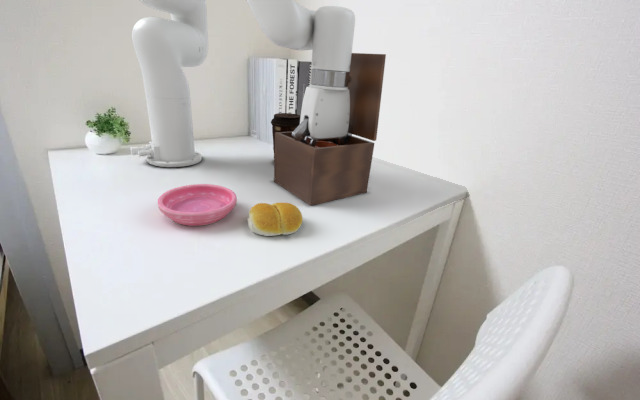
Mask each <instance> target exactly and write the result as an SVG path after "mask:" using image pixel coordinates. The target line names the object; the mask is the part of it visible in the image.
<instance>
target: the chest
mask: <svg viewBox="0 0 640 400" xmlns="http://www.w3.org/2000/svg"><path fill="white" fill-rule="evenodd" d="M292 132H293V131H291V132H275V158H274V157H273V182H274V183H275V184H277V185H278V186H280V187H281V188H282V189H284V190H286V191H288V192H289V193H291V194H292V195H294V196H295V197H296V198H298V199H300V200H301V201H303V202H304V203H306V204H307V205H309V206H315V205H320V204H324V203H328V202H332V201H337V200H340V199H345V198H349V197H353V196H358V195H362V194H365V193H368V188H369V182H370V181H369V180H370V174H371V168H372V162H373V155H374V149H375V142H374V141H371V140H368V139H365V138H362V137H359V136H355V135H352V136H351V137H350V138H349V141H348V142H347V143H346V144H345V145H340V146H330V147H321V148H315V147H312V146H310V145H307V144H305V143H303V142H300V141H298V140H295V139H294V137H293V136H292ZM302 137H303V138H304V139H305V137H306V136H304V135H302ZM318 141H327V142H332V139H320V140H318ZM310 142H311V140H310ZM332 143H333V142H332Z"/></svg>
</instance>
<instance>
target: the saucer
mask: <svg viewBox="0 0 640 400" xmlns="http://www.w3.org/2000/svg"><path fill="white" fill-rule="evenodd" d="M237 201H238V198H237V194H236V193H235V192H234V191H233V190H232V189H230V188H228V187H225V186H222V185H219V184H211V183H196V184H195V183H194V184H187V185H181V186H177V187H174V188H171V189H169V190H167V191H165V192H163V193H162V194H161V195H160V196H159V197H158V199H157V207H158V210H159V211H160V212H161V213H162V214H163V215H164V216H165V217H167V218H169V219H170V220H172V221H173V222H175V223H176V224H179V225H183V226H189V227H190V226H191V227H192V226H193V227H194V226H195V227H199V226H206V225H211V224H215V223H217V222H219V221H222V220H223V219H224V218H226V217H227V215H228V214H230V213H231V212H232V211H233V210H234V208H235V207H236V205H237Z"/></svg>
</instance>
